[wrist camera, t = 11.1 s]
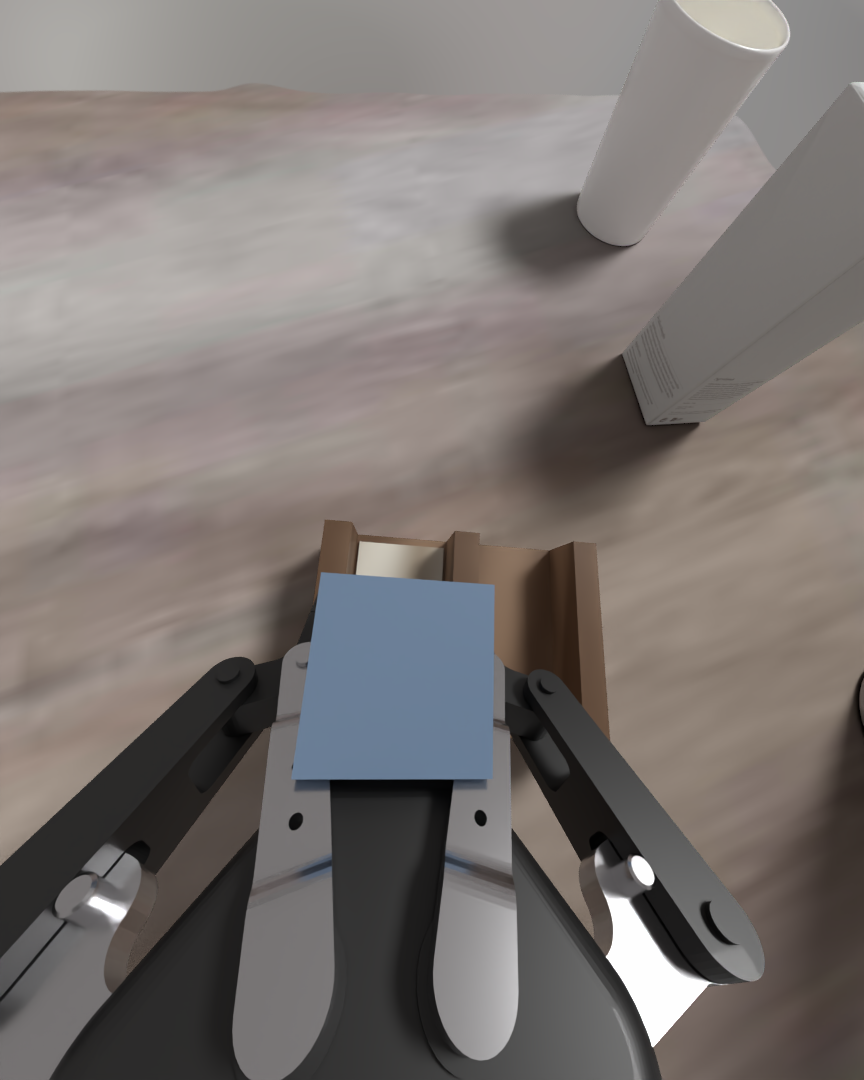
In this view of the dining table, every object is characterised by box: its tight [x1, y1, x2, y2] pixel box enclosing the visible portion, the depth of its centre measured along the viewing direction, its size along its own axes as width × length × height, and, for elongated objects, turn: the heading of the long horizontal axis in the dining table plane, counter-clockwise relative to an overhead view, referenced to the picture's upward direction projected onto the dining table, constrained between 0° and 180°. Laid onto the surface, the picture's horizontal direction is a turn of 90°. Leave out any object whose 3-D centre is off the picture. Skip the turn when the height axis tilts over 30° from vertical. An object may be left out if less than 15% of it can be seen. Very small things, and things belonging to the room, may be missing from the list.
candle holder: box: [577, 0, 790, 246], centre depth 27 cm, size 10×10×12 cm
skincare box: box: [622, 82, 864, 425], centre depth 21 cm, size 8×7×16 cm
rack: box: [313, 520, 610, 741], centre depth 19 cm, size 16×12×4 cm
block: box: [291, 572, 495, 780], centre depth 12 cm, size 4×4×12 cm
